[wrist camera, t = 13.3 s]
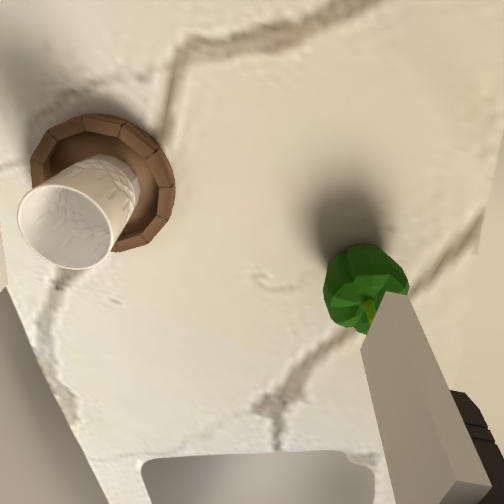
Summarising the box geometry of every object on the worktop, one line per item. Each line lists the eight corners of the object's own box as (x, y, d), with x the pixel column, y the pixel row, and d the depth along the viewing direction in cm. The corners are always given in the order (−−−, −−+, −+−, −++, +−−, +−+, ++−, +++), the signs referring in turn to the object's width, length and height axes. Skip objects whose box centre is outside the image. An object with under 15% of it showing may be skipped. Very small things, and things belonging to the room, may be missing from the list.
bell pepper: (317, 235, 45) (325, 288, 37) (395, 228, 44) (423, 281, 36) (321, 298, 49) (330, 358, 41) (392, 292, 48) (417, 353, 40)
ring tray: (37, 100, 40) (25, 104, 38) (181, 130, 40) (177, 136, 39) (46, 228, 47) (36, 237, 45) (169, 252, 47) (164, 262, 46)
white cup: (59, 194, 44) (5, 240, 35) (86, 131, 40) (33, 164, 32) (127, 232, 46) (92, 284, 37) (159, 175, 42) (127, 218, 33)
